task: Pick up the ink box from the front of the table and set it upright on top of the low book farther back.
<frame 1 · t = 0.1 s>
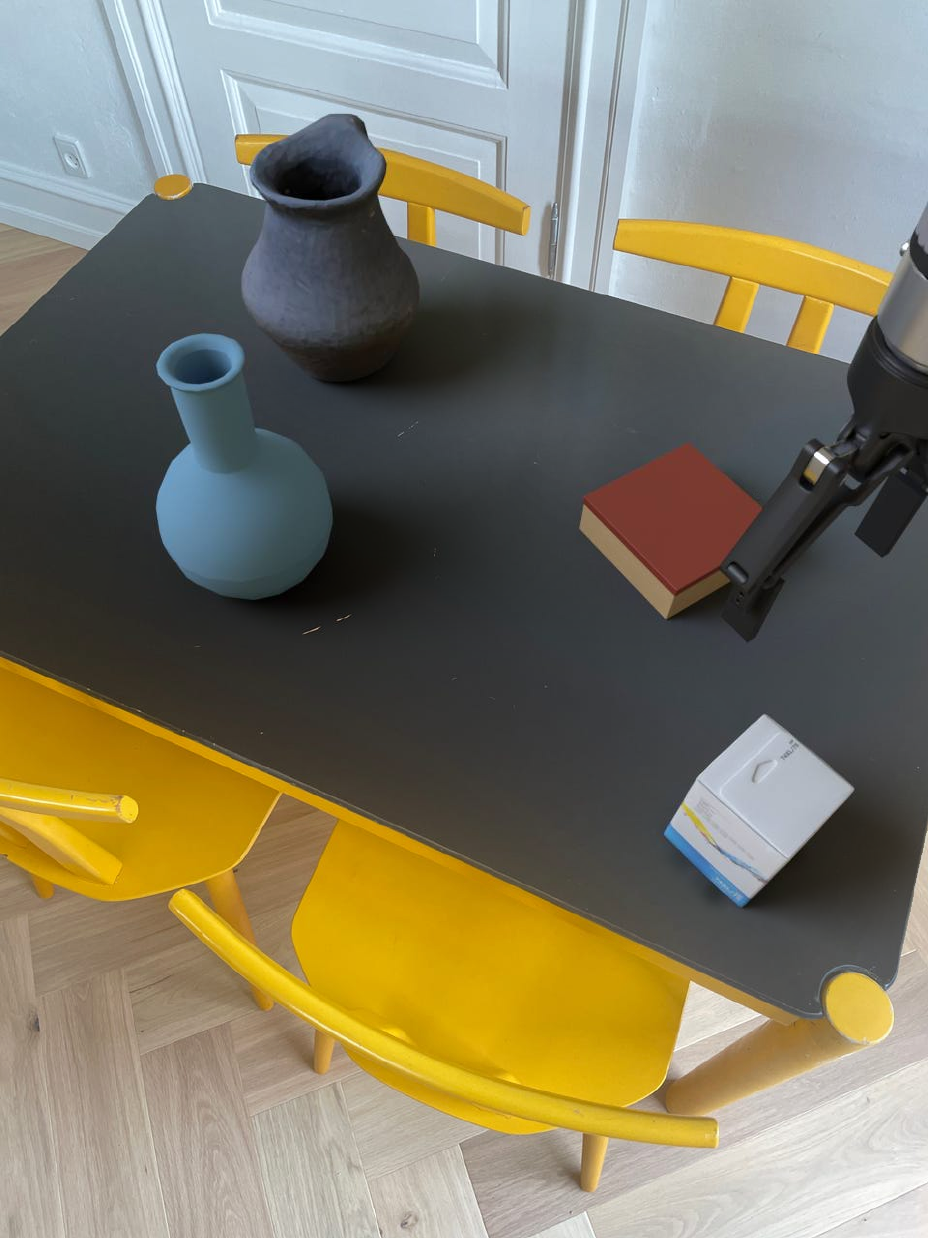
hand: (806, 584, 62), 20 cm above the table, tool pointing down, fingers open, 13 cm apart
pitcher: (343, 352, 107), on the table
ink box: (732, 839, 72), on the table
vase: (260, 558, 89), on the table
book: (672, 543, 90), on the table
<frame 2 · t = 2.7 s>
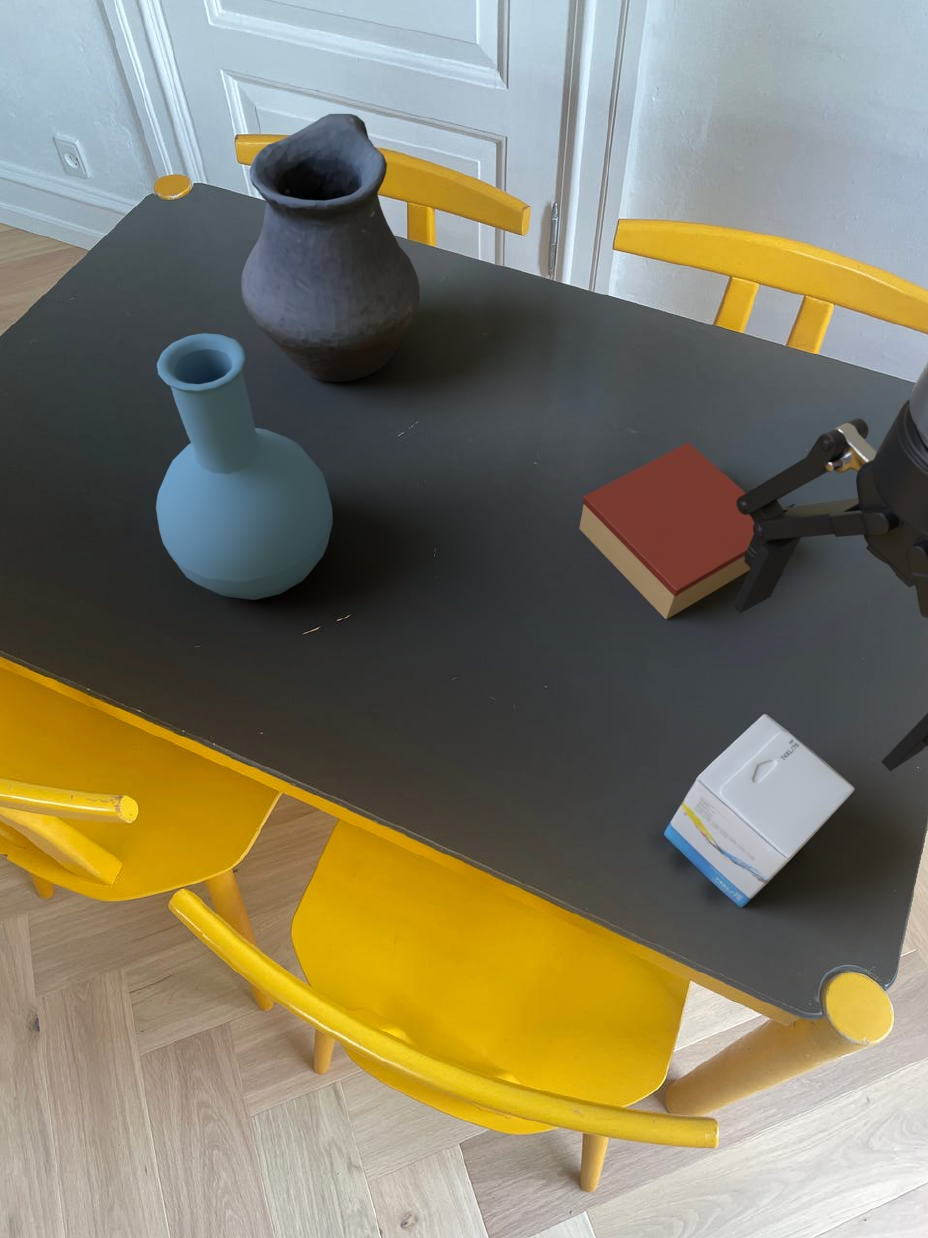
hand: (821, 674, 56), 22 cm above the table, tool pointing down, fingers open, 13 cm apart
nothing on the table moved.
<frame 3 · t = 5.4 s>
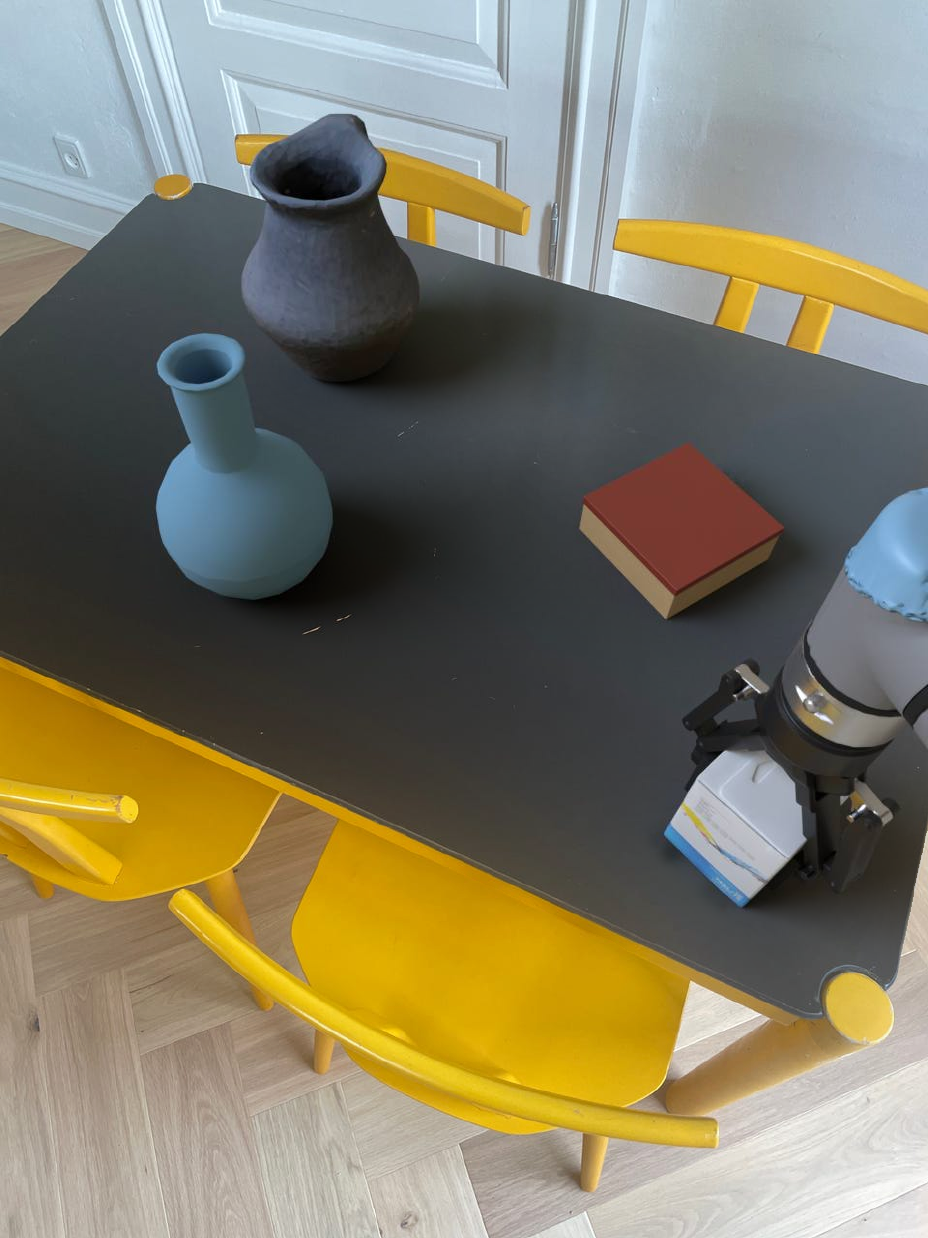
hand: (739, 830, 70), 2 cm above the table, tool pointing down, fingers closed on ink box, 9 cm apart
ink box: (732, 839, 72), on the table, touching gripper
everything else where it was.
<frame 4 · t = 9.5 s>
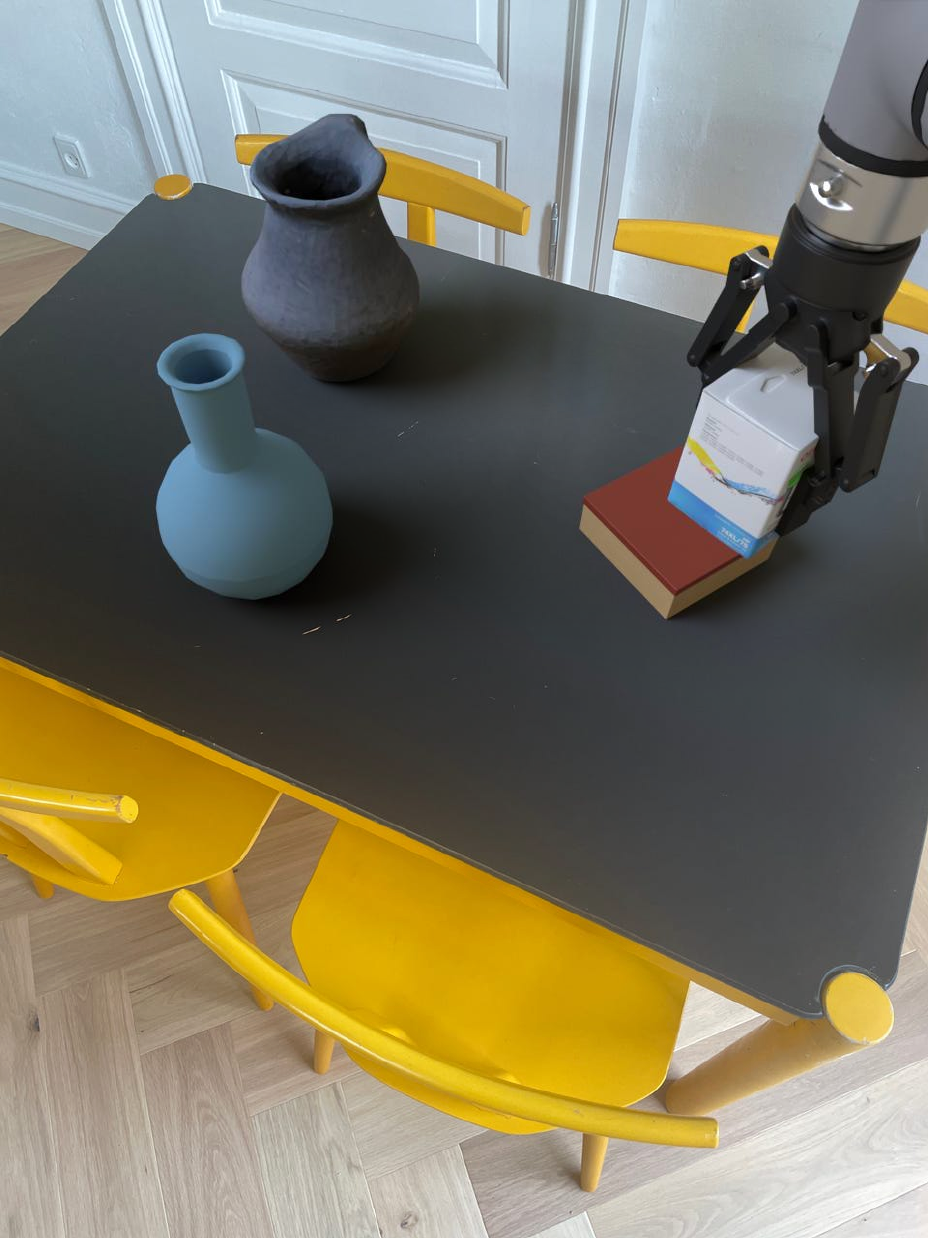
hand: (745, 487, 68), 20 cm above the table, tool pointing down, fingers closed on ink box, 9 cm apart
ink box: (738, 505, 69), point 18 cm above the table, touching gripper
everything else where it was.
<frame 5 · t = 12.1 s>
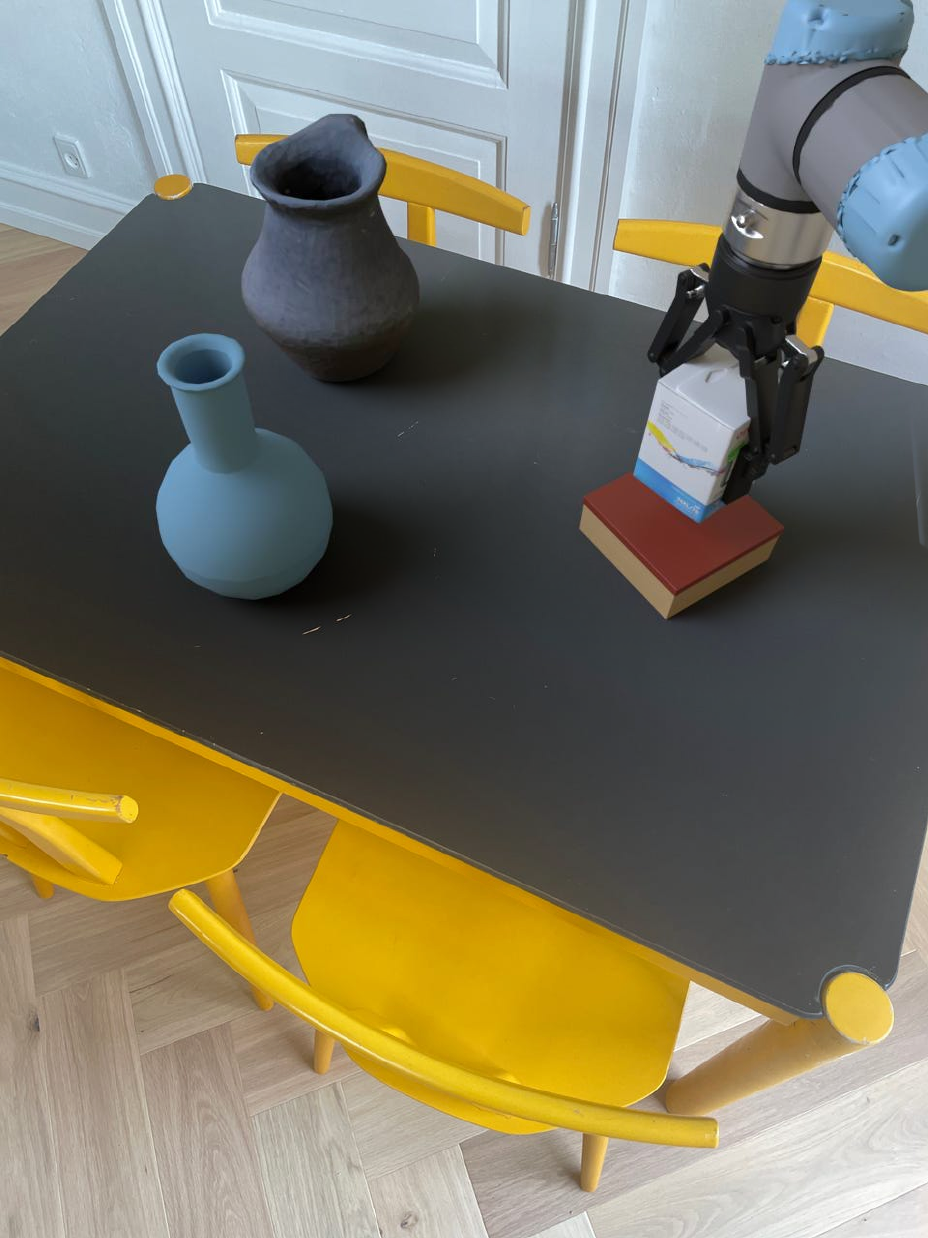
hand: (698, 464, 80), 12 cm above the table, tool pointing down, fingers closed on ink box, 9 cm apart
ink box: (693, 480, 82), point 10 cm above the table, touching gripper
everything else where it was.
when the fingers open (7 cm above the table, at t = 13.9 s): ink box stays where it is, resting on book.
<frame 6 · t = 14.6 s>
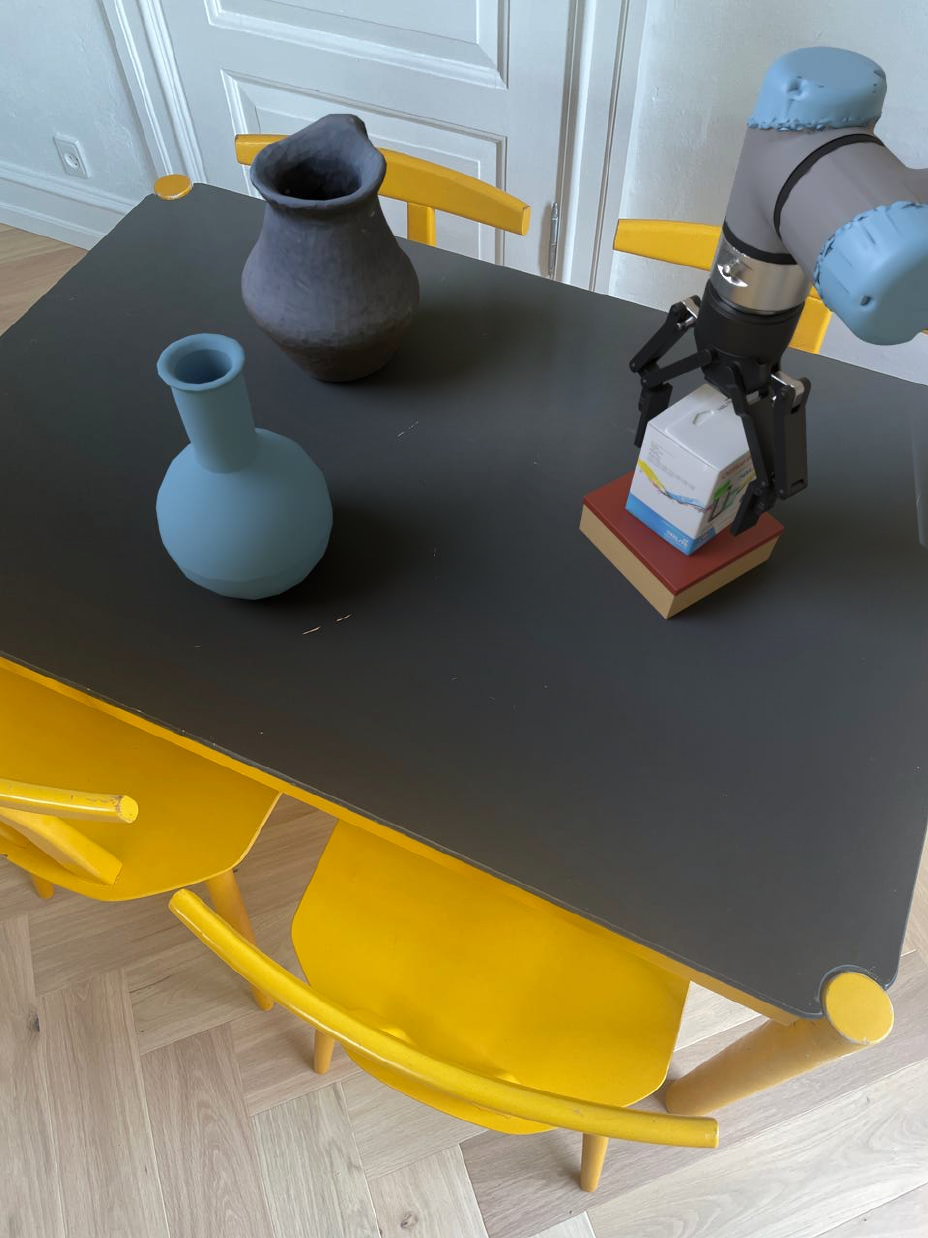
hand: (692, 483, 82), 9 cm above the table, tool pointing down, fingers open, 13 cm apart
ink box: (682, 512, 86), point 5 cm above the table, touching book
everything else where it was.
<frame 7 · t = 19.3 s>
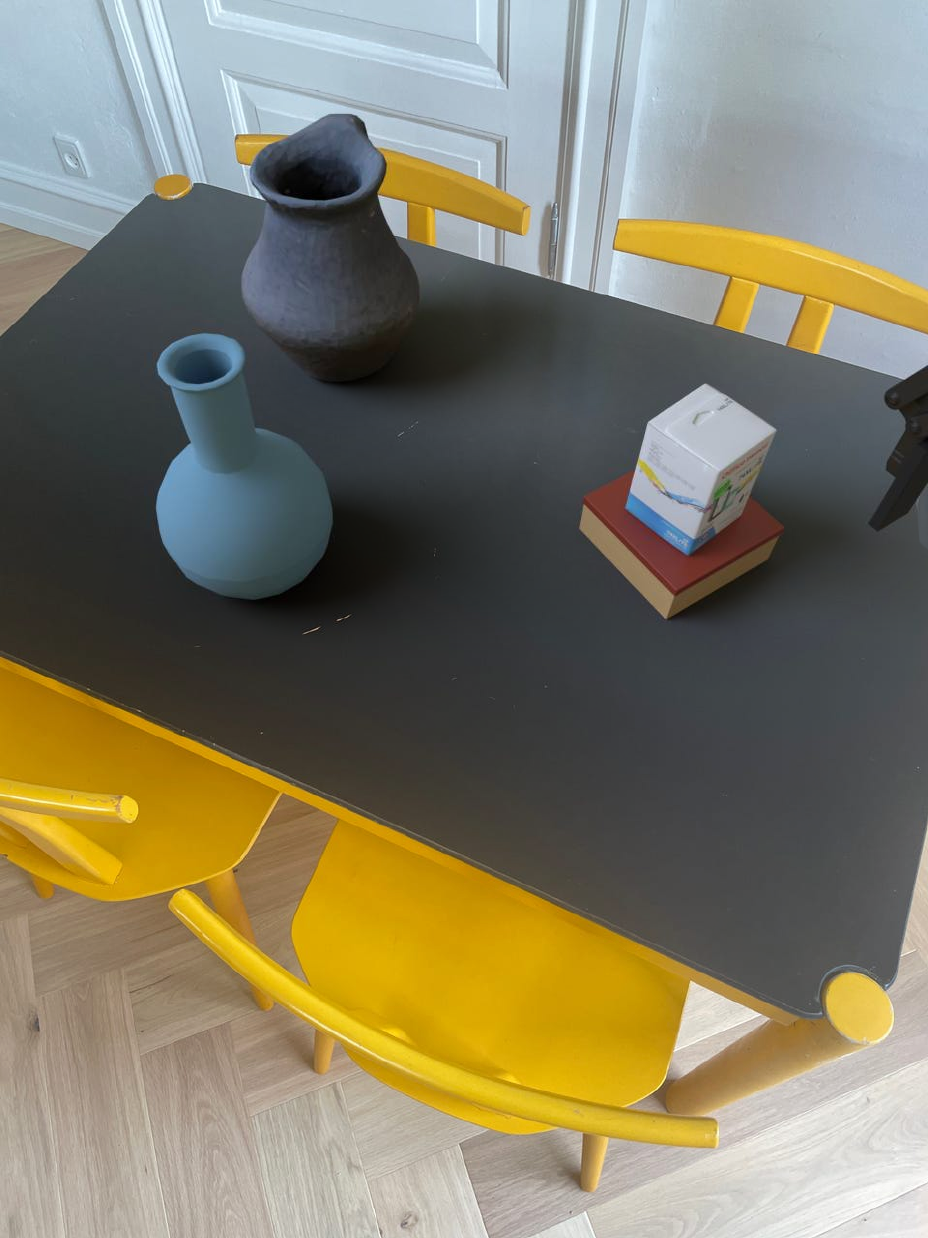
nothing on the table moved.
at the end: ink box inside the target area on the book (0.0 cm from its centre), point 4.9 cm above the book's base; ink box tilted 0°; the gripper is holding nothing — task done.
